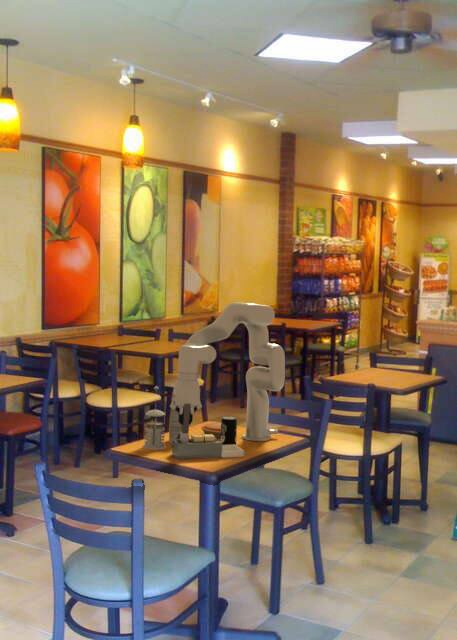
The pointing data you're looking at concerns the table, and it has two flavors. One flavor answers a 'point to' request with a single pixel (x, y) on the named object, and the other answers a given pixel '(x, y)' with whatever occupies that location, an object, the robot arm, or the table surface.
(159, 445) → the french press
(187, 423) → the grey rectangular bar
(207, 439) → the wooden cube
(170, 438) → the coffee box
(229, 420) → the beverage can
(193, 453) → the slot block
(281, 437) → the table surface
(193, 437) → the tan cube
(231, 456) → the tray
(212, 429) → the pie
